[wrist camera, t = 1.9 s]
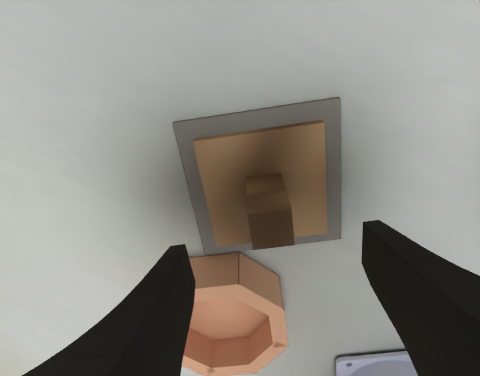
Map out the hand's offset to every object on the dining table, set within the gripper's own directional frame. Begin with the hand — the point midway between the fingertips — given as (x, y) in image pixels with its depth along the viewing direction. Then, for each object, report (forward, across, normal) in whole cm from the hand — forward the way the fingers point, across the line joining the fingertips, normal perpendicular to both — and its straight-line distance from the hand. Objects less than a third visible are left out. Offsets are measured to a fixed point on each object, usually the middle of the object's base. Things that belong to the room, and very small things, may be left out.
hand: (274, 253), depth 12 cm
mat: (+7, 0, 0) cm, 7 cm away
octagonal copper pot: (+7, +4, +9) cm, 12 cm away
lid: (+6, 0, 0) cm, 6 cm away
